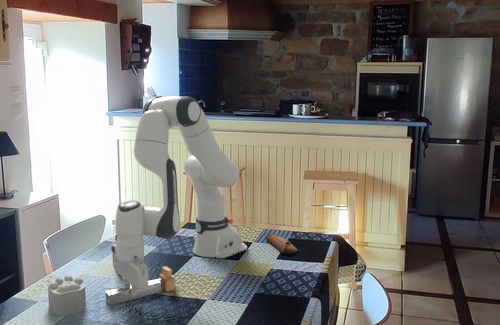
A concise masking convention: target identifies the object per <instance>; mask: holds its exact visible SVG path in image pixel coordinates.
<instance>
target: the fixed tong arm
mask: <svg viewBox="0 0 500 325" xmlns="http://www.w3.org/2000/svg"><path fill="white" fill-rule="evenodd" d="M172 276H174V277H175V275H173V274H172ZM175 278H176V277H175ZM156 281H160V282H161V291H162V290H165V280H164V279H163V278H160V279H159V278H156V279H152V280H149V283H152V282H156ZM131 287H132V286H127V287H125V286H123V287H119V288H114V289H110V290H107V291H105V303H106V304H107V305H109V304H108V294H109V293H113V292H117V291H121V290H124V289H128V288H131Z"/></svg>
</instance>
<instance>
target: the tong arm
mask: <svg viewBox="0 0 500 325" xmlns="http://www.w3.org/2000/svg"><path fill="white" fill-rule="evenodd" d="M130 289H131V288H128V289H124V290H121V291H117V292H113V293H109V294H108V304H107V305H109V306H113V305H116V304H117V305H118V304H120V303H123V302H124V303H125V302H127V301H131V300H134V299H139V298H143V297H146V296H150V295H153V294H154V295H155V294H157V293H161V292H162V290H161V282H160V281H156V282H152V283H149V285H148V287H147V288H145V289H141V290H138V289H137V295H134V296H132V295H131V294H130Z"/></svg>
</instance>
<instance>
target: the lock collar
mask: <svg viewBox="0 0 500 325" xmlns="http://www.w3.org/2000/svg"><path fill="white" fill-rule="evenodd" d="M158 275H159V276H158V279H160V278H163V279H164V280H165V289H164V290H165V292H170V291H175V289H176V288H175V286H176V283H175V282H176V280H175V278H176V277H174V276H175V275H173V270H172V269H171V268H169V267H168V266H167V265H166V266H165V265H164V266H162V267H161V273H159V274H158ZM172 275H173V276H172Z"/></svg>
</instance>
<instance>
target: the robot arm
mask: <svg viewBox="0 0 500 325" xmlns="http://www.w3.org/2000/svg"><path fill="white" fill-rule="evenodd" d="M207 118H208V117H207V116H206V114H205V113H204V110H203V108H202V107H201V106H200V104H199V102H198V100H197V99H195V98H194V97H191V96H187V95H183V96H181V95H180V96H178V95H169V96H163V97H154V98H150V99H149V100H147V101H146V102H145V104H144V105H143V108H142V114H141V116H140V119H139V121H138V125H137V128H136V133H135V140H134V147H133V155H134V159H135V160H136V162H137V163H138V164H139V165H140V166H141V167H143V168H145V169H146V170H148V171H149V172H152V173H153V174H155V175H156V176H158V178H160V180H161V185H162V207H160V206H152V205H151V206H150V205H143V204H142V203H141V202H140V201H138V200H131V199H130V200H126V201H123V202H121V203H119V204H118V206H117V207H116V211H115V212H116V213H115V221H114V222H115V229H114V230H115V233H116V234H117V240H116V244H115V243H114V244H111V246H110V251H111V253H112V256H111V257H112V266H113V269H114V271H115V272H116V271H117V272H116V273H117V274H119V275H120V276H121V277H122V281H123V284H124V287H127V286H132V287H131V289H130V294H131V295H132V296H134V295H137V289H138V290H141V289H145V288H147V287H148V285H149V281H150V279H149V270H148V267H147V265H146V264H145V262H144V260H143V259H144V257H145V240H144V236H148V237H149V236H150V237H157V238H160V239H165V240H168V239H169V240H170V239H171V238H172V237H174V236H176V235H177V234H178V233H179V231H180V228H181V216H180V210H179V199H178V196H179V195H178V178H177V177H178V175H177V168H176V164H175V161H174V160H173V159H171V158H170V154H169V135H170V132H169V131H170V129H173V128H179V133H180V134H181V137H182V140H183V141H184V142H183V143H184V144H185V147H186V149H187V151H188V153H189V154H190V156H189V157H188V158H187V159H186V161H185V162H184V166H183V167H184V173H185V175H186V176H187V177H188V179H189V180H190V182H191V184H192V187H193V190H194V194H195V198H196V199H195V200H196V218H195V232H196V234H195V240H194V245H193V248H192V253H193V254H195V255H196V256H198V257H204V258H215V257H216V259H225V258H228V257H230V256H234V255H236V253H237V254H239V253H242V252H245V251H248V246H247V245H246V243H244V242H243V240H242V236H241V234H240V233H239V231H237V230H236V229H234V228H233V227H232V226H230V225H229V224H233V222H234V219H233V218H231V217H227V216H225V215H226V214H225V213H226V212H225V211H226V201H225V199H226V198H224V196H223V194H222V193H221V192H220V190H219V188H231V187H233V186H235V185H236V184H237V182H238V181H239V179H240V168H239V166H238V164H236V163H235V162H234V161H232V160H231V159H230V158H229V157H228V156H227V155H226V154H225V151H224V150H223V149H222V148H221V147H220V145H219V144H218V142H217V141H216V138H215V136H214V133H213V132H212V128H211V126H210V123H209V121H208V119H207ZM116 234H115V235H116ZM244 250H245V251H244ZM241 251H242V252H241ZM238 252H239V253H238ZM233 254H234V255H233Z"/></svg>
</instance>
